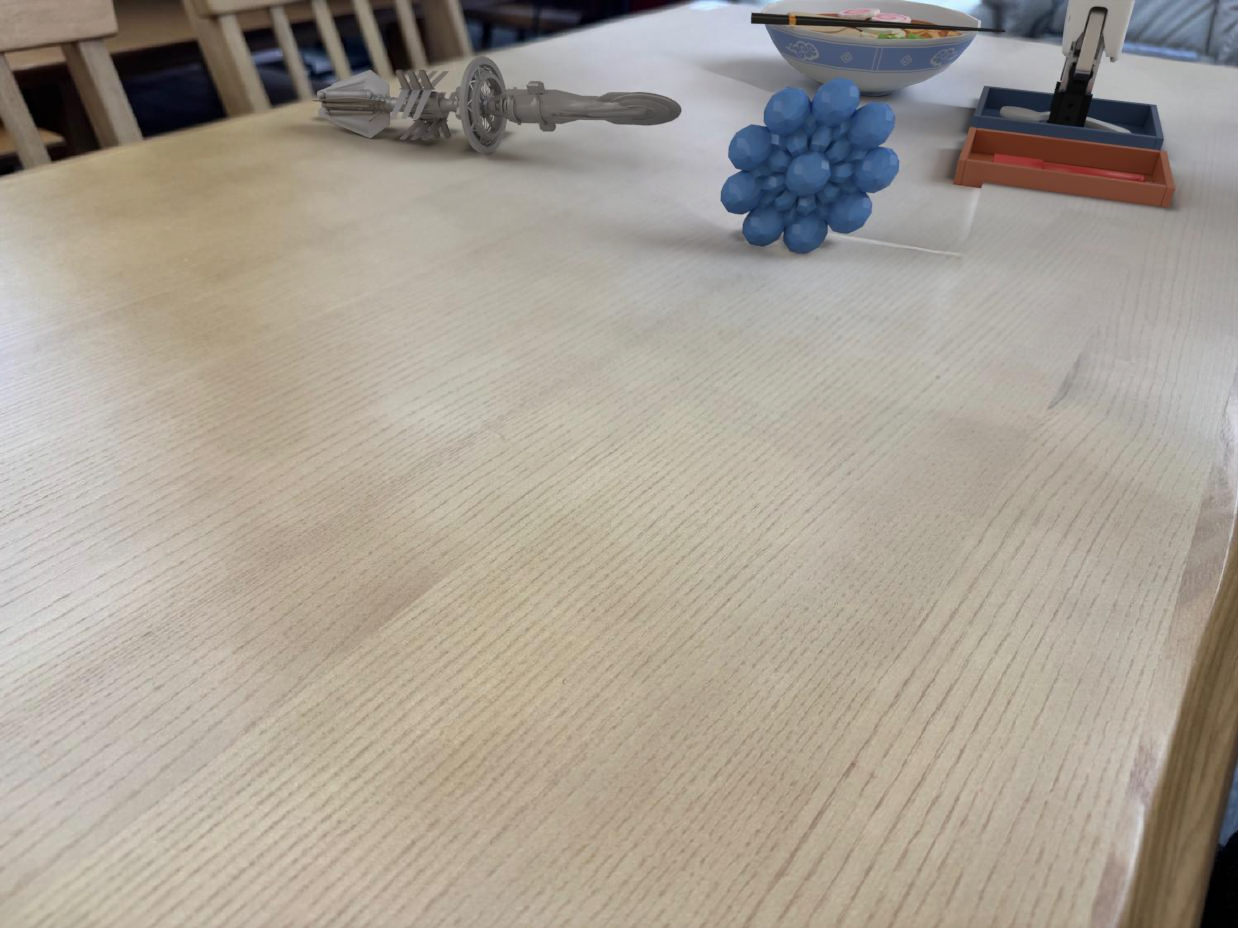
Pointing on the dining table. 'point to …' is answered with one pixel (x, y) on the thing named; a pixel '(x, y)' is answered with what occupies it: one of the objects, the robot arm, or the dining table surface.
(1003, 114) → the spoon
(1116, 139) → the blue tray
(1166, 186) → the terracotta tray
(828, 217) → the blue beaded flower
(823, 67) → the ramen bowl
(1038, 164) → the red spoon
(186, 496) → the dining table surface
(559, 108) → the spaceship
